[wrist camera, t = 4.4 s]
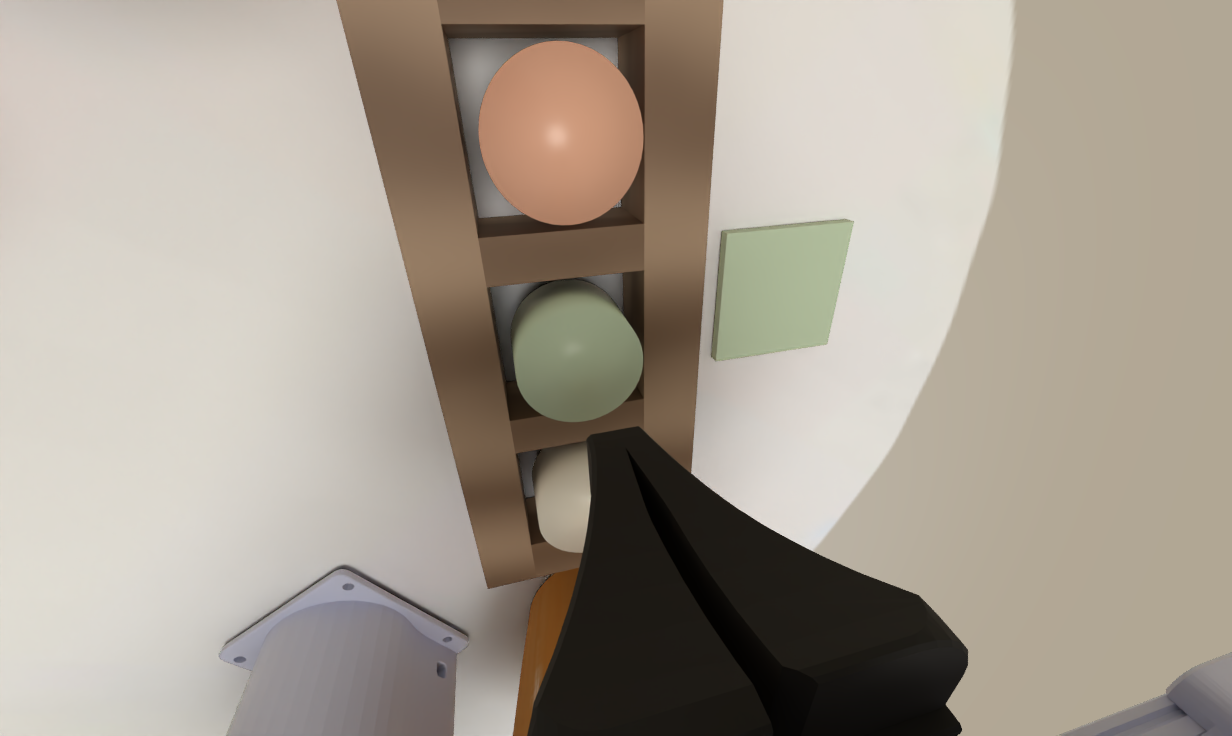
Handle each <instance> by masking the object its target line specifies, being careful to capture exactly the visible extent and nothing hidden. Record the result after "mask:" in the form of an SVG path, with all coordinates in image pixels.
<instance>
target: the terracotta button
mask: <svg viewBox="0 0 1232 736" xmlns="http://www.w3.org/2000/svg"><path fill="white" fill-rule="evenodd" d="M643 138H644V136H643V123H642V117H641V112H640V109H639V105H638V102H637V100H636V97H635V95H634V93H633V90H632V89H631V87H630V85H629V83H628V82H627V80H626V79H625V77H624V76H623V75H622V73H621V72H620V71H619V70H618V69H617V68H616V67H615V66H614V65H613V64H612V62H610V61H609V60H608V59H607V58H605V57H604V56H603V55H601V54H600V53H598V52H596V51H595V50H593V49H591V48H588V47H586V46H583V45H581V44H577V43H573V42H568V41H547V42H542V43H538V44H534V45H532V46H529V47H527V48H525V49H523V50H521V51H520V52H518V53H516V54H515V55H513V56H512V57H511V58H510V59H509V60H508V61H506V62H505V63H504V64H503V65H502V67H501V68H500V69H499V70H498V71H497V72H496V74H495V75H494V77H493V79H492V80H491V82H490V84H489V86H488V88H487V90H486V92H485V95H484V97H483V100H482V104H481V108H480V114H479V143H480V149H481V153H482V158H483V161H484V163H485V166H486V169H487V171H488V173H489V175H490V177H491V179H492V181H493V183H494V184H495V186H496V187H497V189H498V190H499V191H500V193H501V194H502V195H503V196H504V197H505V199H506V200H508V201H509V202H510V203H511V204H512V205H513V206H514V207H515V208H517V209H518V210H519V211H521V212H522V213H524V214H526V215H527V216H529V217H531V218H533V219H536V220H538V221H541V222H545V223H549V224H554V225H575V224H581V223H584V222H588V221H591V220H593V219H595V218H597V217H599V216H601V215H603V214H604V213H606V212H607V211H609V210H610V209H611V208H612V207H614V206H615V205H616V204H617V203H618V202H619V201H620V200H621V199H622V197H623V196H624V195H625V193H626V192H627V191H628V189H629V188H630V186H631V184H632V182H633V181H634V178H635V176H636V174H637V171H638V168H639V165H640V161H641V157H642V151H643Z"/></svg>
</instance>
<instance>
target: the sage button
mask: <svg viewBox="0 0 1232 736" xmlns="http://www.w3.org/2000/svg"><path fill="white" fill-rule="evenodd" d="M511 344H512V352H513V359H514V367H515V374H516V380H517V385H518V388H519V390H520V392H521V394H522V396H523V397H524V399H525V400H526V401H527V403H528V404H529V405H530V406H531V407H532V408H533V409H534V410H536V411H537V412H539V413H540V414H542V415H544V416H546V417H548V418H551V419H554V420H558V421H564V422H582V421H588V420H593V419H596V418H599V417H601V416H603V415H606V414H608V413H609V412H611V411H613V410H614V409H616V408H617V407H618V406H620V405H621V404H622V403H623V402H624V401H625V400H626V399H627V398H628V397H629V396H630V395H631V393H632V392H633V390H634V389H635V387H636V385H637V383H638V381H639V379H640V376H641V372H642V368H643V351H642V347H641V344H640V341H639V338H638V337H637V335H636V333H635V332H634V330H633V329H632V327H631V326H630V324H629V323H628V321H627V320H626V318H625V317H624V315H623V314H622V313H621V311H620V310H619V308H618V307H617V305H616V304H615V302H614V301H613V300H612V298H611V297H610V296H609V295H608V294H607V293H606V292H605V291H603V290H602V289H601V288H599V287H597V286H595V285H593V284H591V283H588V282H585V281H581V280H572V279H568V280H559V281H554V282H551V283H548V284H545V285H543V286H541V287H539V288H538V289H536V290H534V291H533V292H532V293H531V294H529V295H528V296H527V297H526V298H525V299H524V300H523V302H522V303H521V304H520V306H519V307H518V309H517V311H516V313H515V315H514V318H513V320H512V325H511Z"/></svg>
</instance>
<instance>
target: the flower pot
mask: <svg viewBox="0 0 1232 736" xmlns="http://www.w3.org/2000/svg"><path fill="white" fill-rule="evenodd" d="M578 571H579V568H575V569H571V570H567V571H562V572H558V573H554V574H553V575H552V576H551V577H550V578H548V579H547V580H546V581H545V582H544V584H543V585H542V586H541V587H540V589H539V590H538V591H537V593H536V595H535V597H534V599H533V601H532V604H531V608H530V615H529V622H528V628H527V634H526V641H525V648H524V655H523V662H522V669H521V676H520V684H519V692H518V700H517V708H516V715H515V723H514V731H513V736H527V733H528V729H529V724H530V720H531V715H532V709H533V704H534V701H535V698H536V695H537V693H538V690H539V688H540V685H541V683H542V680H543V678H544V675H545V673H546V670H547V668H548V665H549V663H550V660H551V658H552V655H553V652H554V650H555V647H556V644H557V641H558V638H559V635H560V632H561V629H562V626H563V623H564V620H565V617H566V614H567V611H568V608H569V604H570V601H571V597H572V594H573V590H574V586H575V583H576V579H577V575H578Z"/></svg>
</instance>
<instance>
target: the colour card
mask: <svg viewBox="0 0 1232 736" xmlns="http://www.w3.org/2000/svg"><path fill="white" fill-rule="evenodd" d="M853 223H854V221H850V220H847V219H843V220H833V221H822V222H812V223H801V224H790V225H780V226H769V227H758V228H748V229H737V230H726V231H722V236H721V248H720V260H719V272H718V284H717V296H716V308H715V320H714V332H713V344H712V356H711V357H712V358H713V359H714V360H715V361H722V360H729V359H735V358H742V357H748V356H755V355H761V354H768V353H774V352H781V351H787V350H794V349H800V348H807V347H813V346H820V345H826V344H827V342H828V338H829V333H830V328H831V324H832V319H833V315H834V310H835V306H836V301H837V296H838V292H839V287H840V283H841V278H842V274H843V269H844V265H845V260H846V255H847V251H848V246H849V242H850V237H851V233H852V228H853Z"/></svg>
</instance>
